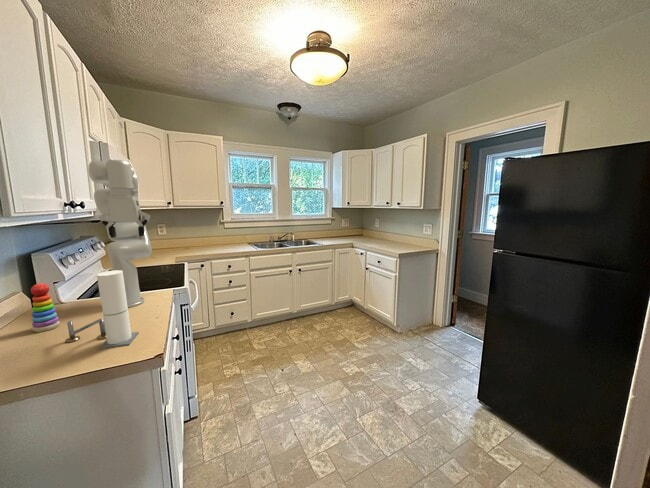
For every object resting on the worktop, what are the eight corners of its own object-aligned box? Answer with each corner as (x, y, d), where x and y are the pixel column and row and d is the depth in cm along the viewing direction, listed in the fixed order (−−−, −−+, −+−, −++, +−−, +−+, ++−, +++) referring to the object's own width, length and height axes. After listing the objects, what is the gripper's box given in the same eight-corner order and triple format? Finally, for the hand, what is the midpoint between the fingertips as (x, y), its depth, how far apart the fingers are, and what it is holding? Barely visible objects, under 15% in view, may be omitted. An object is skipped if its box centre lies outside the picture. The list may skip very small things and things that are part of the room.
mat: (111, 336, 102) (110, 335, 102) (138, 333, 104) (138, 331, 104) (99, 349, 93) (98, 347, 93) (129, 345, 96) (129, 343, 96)
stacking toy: (26, 334, 105) (17, 287, 101) (41, 325, 112) (33, 281, 109) (51, 331, 107) (43, 285, 103) (65, 322, 114) (57, 279, 111)
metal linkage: (69, 338, 101) (66, 318, 100) (113, 332, 105) (110, 314, 104) (44, 358, 88) (39, 336, 87) (95, 351, 92) (92, 330, 91)
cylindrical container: (128, 332, 104) (119, 269, 100) (134, 338, 99) (125, 272, 95) (105, 339, 99) (94, 273, 94) (109, 346, 94) (99, 277, 90)
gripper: (150, 193, 111) (155, 234, 114) (100, 193, 106) (106, 236, 109) (144, 193, 104) (149, 236, 107) (90, 193, 99) (97, 239, 102)
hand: (127, 236), depth 108 cm, fingers open, 9 cm apart
